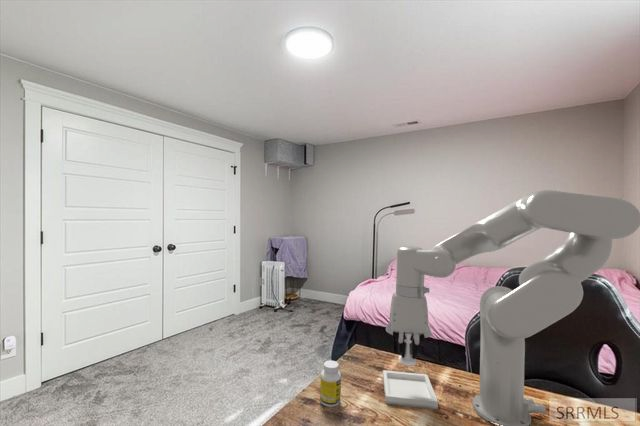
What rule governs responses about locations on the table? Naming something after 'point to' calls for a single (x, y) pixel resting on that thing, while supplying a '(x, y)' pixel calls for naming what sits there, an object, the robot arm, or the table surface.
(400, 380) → the tray
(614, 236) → the robot arm
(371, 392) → the table surface
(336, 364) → the supplement bottle
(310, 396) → the table surface
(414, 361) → the chess piece
